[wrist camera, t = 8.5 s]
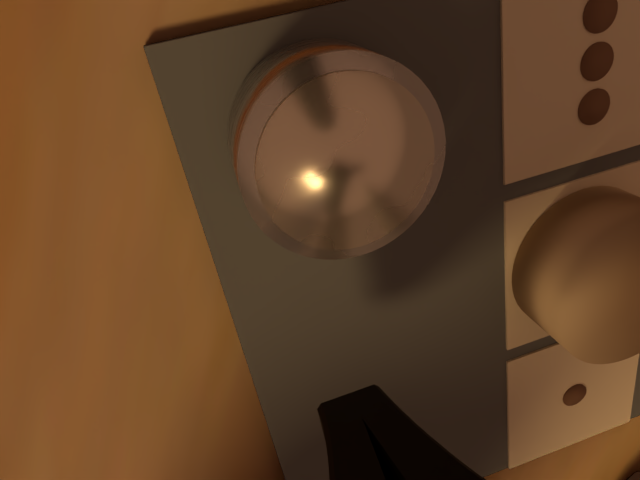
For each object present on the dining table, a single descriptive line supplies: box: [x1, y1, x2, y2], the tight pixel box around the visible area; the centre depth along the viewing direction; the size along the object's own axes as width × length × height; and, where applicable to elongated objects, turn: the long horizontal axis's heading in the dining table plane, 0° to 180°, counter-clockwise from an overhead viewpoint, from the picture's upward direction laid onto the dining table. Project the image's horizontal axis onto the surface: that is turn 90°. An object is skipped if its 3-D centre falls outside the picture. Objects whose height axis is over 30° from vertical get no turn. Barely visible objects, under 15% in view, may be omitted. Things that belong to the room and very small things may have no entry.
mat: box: [144, 0, 640, 480], centre depth 15 cm, size 14×16×1 cm
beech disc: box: [512, 186, 640, 364], centre depth 14 cm, size 4×4×2 cm
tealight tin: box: [227, 38, 446, 260], centre depth 10 cm, size 4×4×2 cm
